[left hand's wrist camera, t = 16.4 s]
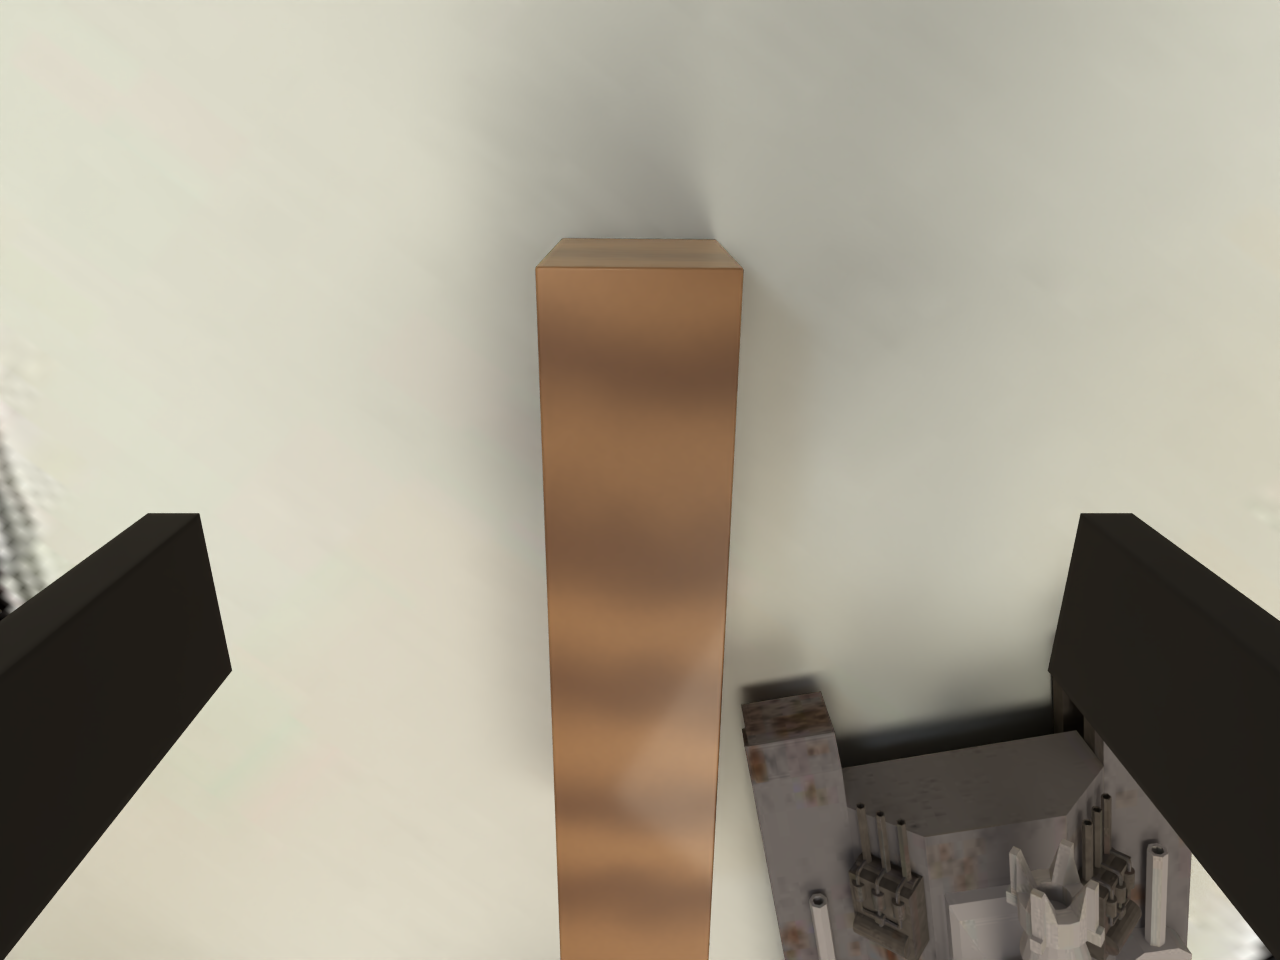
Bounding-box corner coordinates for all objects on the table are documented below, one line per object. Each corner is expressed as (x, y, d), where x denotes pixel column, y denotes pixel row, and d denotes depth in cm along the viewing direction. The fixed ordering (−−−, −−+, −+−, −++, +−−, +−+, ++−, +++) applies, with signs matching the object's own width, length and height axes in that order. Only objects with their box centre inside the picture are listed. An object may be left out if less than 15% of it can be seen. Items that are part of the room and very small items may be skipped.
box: (561, 238, 35) (535, 266, 26) (716, 239, 35) (743, 268, 26) (575, 805, 46) (560, 965, 37) (694, 806, 46) (708, 965, 37)
